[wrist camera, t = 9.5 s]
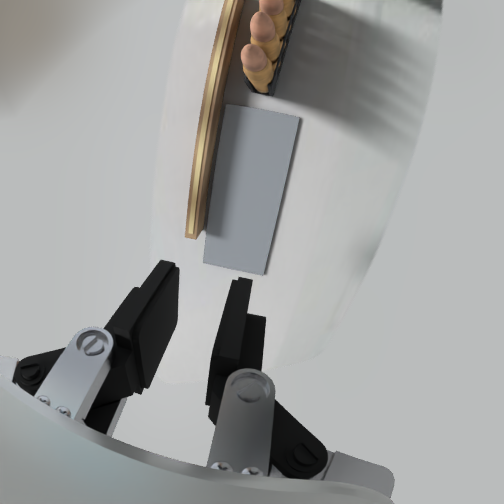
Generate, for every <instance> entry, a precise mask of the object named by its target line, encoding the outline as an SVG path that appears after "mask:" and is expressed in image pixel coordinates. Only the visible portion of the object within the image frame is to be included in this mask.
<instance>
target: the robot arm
mask: <svg viewBox="0 0 504 504" xmlns="http://www.w3.org/2000/svg"><path fill="white" fill-rule="evenodd" d="M252 282H253V280H251V279H247V278H242V277H239V278H238V280H232V283H231V286H230V290H229V293H228V297H227V300H226V304H225V307H224V311H223V315H222V318H221V322H220V325H219V329H218V332H217V336H216V339H215V343H214V347H213V351H212V356H211V362H210V370H209V377H208V386H207V394H206V402H205V405H208V406H210V408H209V415H208V417H209V418H210V420H211V421H212V422H213V424H214V425H215V426H216V428H215V432H214V436H213V440H212V445H211V449H210V454H209V458H208V462H207V466H206V467H203V466H199V465H195V464H190V463H186V462H182V461H178V460H175V459H171V458H168V457H164V456H161V455H158V454H155V453H152V452H149V451H146V450H143V449H140V448H137V447H134V446H132V445H129V444H126V443H124V442H121V441H119V440H116V439H114V438H111V437H112V435H113V432H114V429H115V427H116V424H117V422H118V420H119V417H120V415H121V413H122V410H123V408H124V406H125V403H126V401H127V397H128V396H131V395H133V393H134V392H135V393H138V394H142V392H143V389H144V388H147V389H148V388H149V387H150V385H151V382H152V380H153V377H154V375H155V373H156V371H157V368H158V366H159V364H160V361H161V359H162V357H163V354H164V352H165V350H166V348H167V345H168V343H169V341H170V339H171V336H172V334H173V332H174V330H175V328H176V325H177V320H178V293H179V267H176V265H175V263H173V262H169V261H165V260H160V261H159V263H158V264H157V265H156V267H155V268H154V269H153V271H152V272H151V273H150V275H149V276H148V277H147V279H146V280H145V281H144V283H143V284H142V286H141V287H140V288H139V287H134V288H133V289H132V290H131V292H130V293H129V294H128V296H127V297H126V298H125V300H124V301H123V302H122V304H121V305H120V306H119V308H118V309H117V311H116V312H115V313H114V315H113V316H112V318H111V319H110V320H109V322H108V323H107V325H106V326H105V327H104V329H102V328H99V327H88V328H84V329H82V330H81V331H79V332H78V333H77V334H76V335H75V336H74V337H73V339H72V340H71V341H70V343H69V344H68V346H67V347H66V348H62V349H58V350H54V351H50V352H46V353H42V354H38V355H33V356H29V357H26V358H24V359H22V360H21V361H19V359H18V358H12V357H6V356H0V504H394V503H393V501H392V500H391V499H390V498H391V494H392V491H393V487H394V476H393V473H392V472H391V471H390V470H389V469H387V468H385V467H383V466H380V465H377V464H373V463H370V462H367V461H364V460H361V459H358V458H355V457H352V456H349V455H346V454H344V453H340V452H338V451H336V452H335V453H333V452H331V451H328V450H326V448H325V446H324V445H323V444H322V443H321V442H320V441H319V440H318V439H317V438H316V437H315V436H314V435H313V434H311V433H310V432H309V431H308V430H307V429H306V428H305V427H304V426H302V424H300V423H299V422H298V421H297V420H296V419H295V418H294V417H293V416H292V415H291V414H290V413H289V412H288V411H287V410H285V408H284V407H283V406H282V405H280V404H279V403H278V402H277V401H276V400H275V385H274V384H273V381H272V380H271V379H270V378H269V377H268V376H267V375H266V374H265V373H263V372H261V370H262V359H263V348H264V337H265V326H266V317H263V316H258V315H253V314H248V313H247V311H248V305H249V299H250V293H251V287H252Z"/></svg>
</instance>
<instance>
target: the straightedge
mask: <svg viewBox="0 0 504 504" xmlns="http://www.w3.org/2000/svg"><path fill="white" fill-rule="evenodd" d="M244 1H245V0H225V1H224V4H223V8H222V12H221V16H220V20H219V24H218V28H217V32H216V36H215V41H214V45H213V50H212V54H211V59H210V64H209V68H208V73H207V78H206V84H205V89H204V94H203V100H202V106H201V111H200V117H199V124H198V130H197V137H196V143H195V150H194V158H193V165H192V173H191V181H190V190H189V199H188V209H187V219H186V231H185V237H186V238H191V239H195V240H196V239H197V237H198V236H199V234H200V233H201V231H202V230H203V227H204V218H205V210H206V203H207V195H208V188H209V181H210V174H211V167H212V160H213V154H214V147H215V141H216V135H217V129H218V123H219V118H220V112H221V106H222V101H223V96H224V90H225V85H226V80H227V75H228V70H229V66H230V61H231V56H232V51H233V47H234V42H235V38H236V34H237V29H238V25H239V21H240V17H241V13H242V9H243V5H244Z"/></svg>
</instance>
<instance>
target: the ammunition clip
mask: <svg viewBox="0 0 504 504" xmlns="http://www.w3.org/2000/svg"><path fill="white" fill-rule="evenodd" d="M300 2H301V0H259V4H260V5H259V9H260V11H259V12H256V13H255V14H254V15H253V17H252V19H251V22H250V30H251V44H247V45H246V46H244V48H243V49H242V52H241V60H242V63H243V71H244V73H245V78H244V81H245V82H246V84H247V85H248V87H249V89H250V90H251V92H255V93H259V94H264V95H268V96H273V95H274V91H275V88H276V84H277V81H278V77H279V73H280V70H281V66H282V63H283V59H284V56H285V52H286V49H287V45H288V42H289V39H290V35H291V32H292V28H293V25H294V22H295V18H296V15H297V12H298V8H299V5H300Z"/></svg>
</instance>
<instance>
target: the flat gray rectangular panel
mask: <svg viewBox="0 0 504 504" xmlns="http://www.w3.org/2000/svg"><path fill="white" fill-rule="evenodd" d="M299 118H300V117H296V116H292V115H287V114H283V113H278V112H273V111H268V110H262V109H257V108H251V107H245V106H238V105H231V104H226V107H225V113H224V118H223V124H222V130H221V135H220V141H219V147H218V154H217V160H216V166H215V173H214V180H213V187H212V194H211V201H210V208H209V216H208V224H207V232H206V240H205V248H204V257H203V263H206V264H210V265H215V266H219V267H224V268H229V269H234V270H238V271H243V272H248V273H253V274H258V275H262V276H263V274H264V270H265V266H266V262H267V258H268V254H269V249H270V245H271V241H272V237H273V233H274V228H275V224H276V220H277V216H278V211H279V207H280V203H281V198H282V194H283V190H284V185H285V181H286V177H287V172H288V168H289V163H290V159H291V154H292V150H293V145H294V141H295V136H296V132H297V127H298V122H299Z"/></svg>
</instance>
